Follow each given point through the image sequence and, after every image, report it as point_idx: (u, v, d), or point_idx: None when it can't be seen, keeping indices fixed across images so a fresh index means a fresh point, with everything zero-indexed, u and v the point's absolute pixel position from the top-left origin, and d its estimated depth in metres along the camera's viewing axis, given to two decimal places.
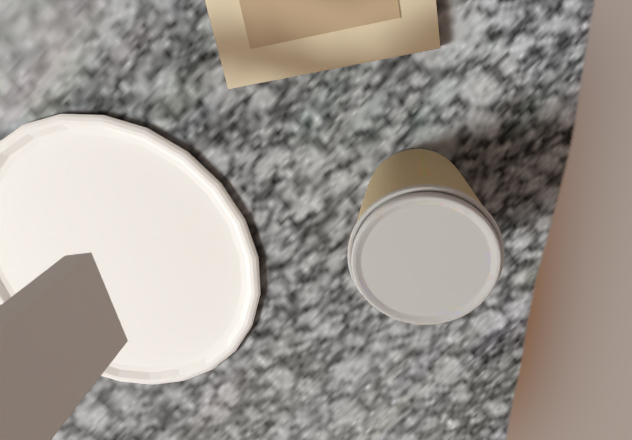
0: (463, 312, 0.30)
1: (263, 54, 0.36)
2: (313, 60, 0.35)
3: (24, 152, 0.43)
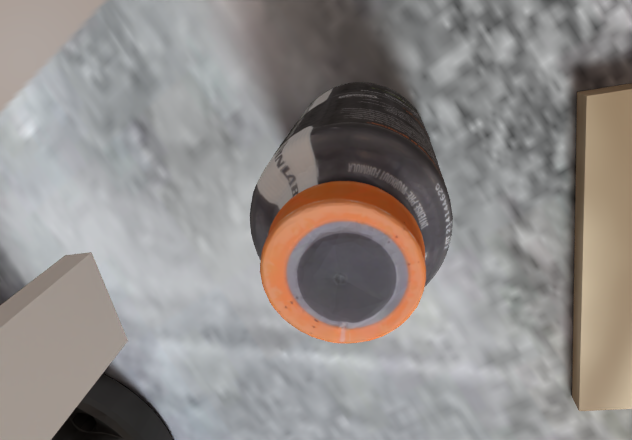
0: None
1: None
2: None
3: None
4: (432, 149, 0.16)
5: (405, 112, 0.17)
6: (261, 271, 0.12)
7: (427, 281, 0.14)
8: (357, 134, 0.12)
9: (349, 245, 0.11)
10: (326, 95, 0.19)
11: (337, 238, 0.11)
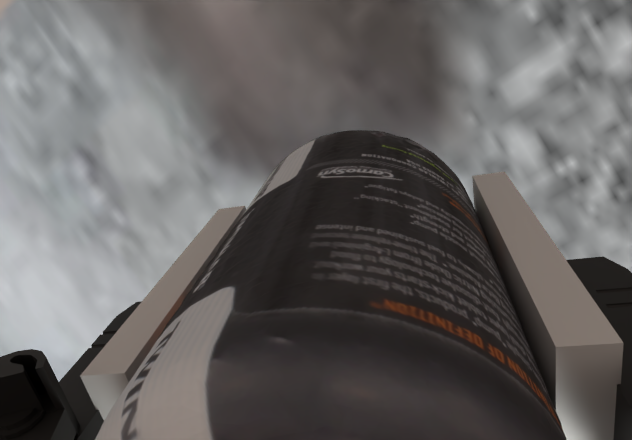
0: None
1: None
2: None
3: None
4: (508, 293, 0.08)
5: (449, 208, 0.08)
6: None
7: None
8: (343, 377, 0.04)
9: None
10: (301, 158, 0.11)
11: None
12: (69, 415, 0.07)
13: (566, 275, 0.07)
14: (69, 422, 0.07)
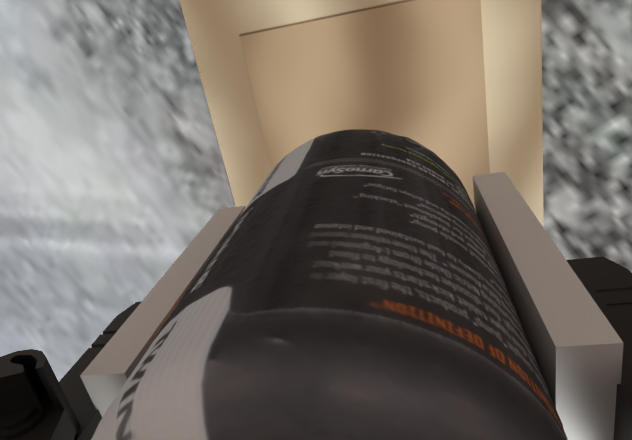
0: None
1: None
2: (523, 128, 0.23)
3: None
4: (508, 292, 0.08)
5: (450, 207, 0.08)
6: None
7: None
8: (341, 378, 0.04)
9: None
10: (300, 157, 0.10)
11: None
12: (69, 415, 0.07)
13: (566, 275, 0.07)
14: (69, 422, 0.07)
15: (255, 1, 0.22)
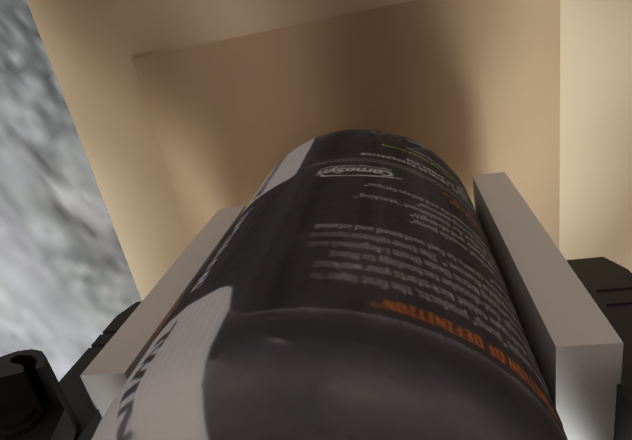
0: None
1: None
2: (622, 217, 0.13)
3: None
4: (508, 292, 0.08)
5: (450, 207, 0.08)
6: None
7: None
8: (341, 378, 0.04)
9: None
10: (300, 157, 0.10)
11: None
12: (69, 415, 0.07)
13: (566, 275, 0.07)
14: (69, 422, 0.07)
15: None
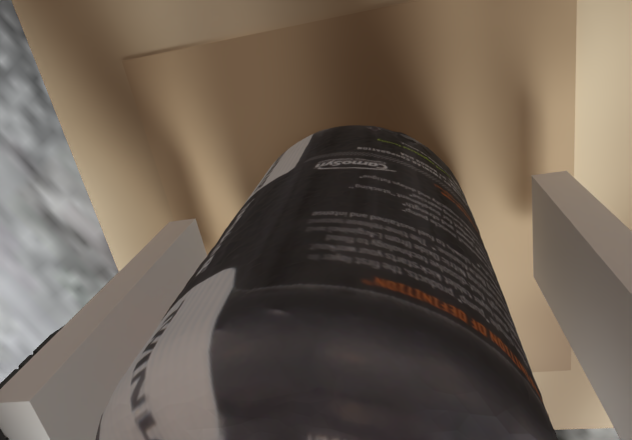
0: None
1: None
2: None
3: None
4: (496, 278, 0.08)
5: (441, 198, 0.09)
6: None
7: None
8: (335, 344, 0.05)
9: None
10: (299, 151, 0.11)
11: None
12: None
13: None
14: None
15: None
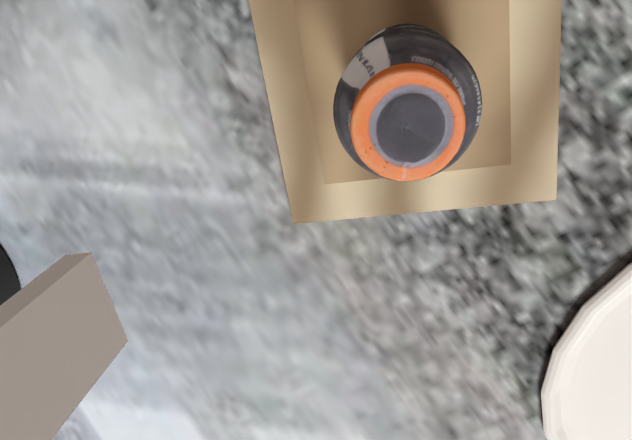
0: None
1: (520, 148, 0.27)
2: (542, 81, 0.26)
3: None
4: None
5: None
6: (351, 124, 0.17)
7: (462, 151, 0.19)
8: (418, 37, 0.18)
9: (415, 102, 0.16)
10: (382, 31, 0.24)
11: (407, 96, 0.16)
12: None
13: None
14: None
15: None
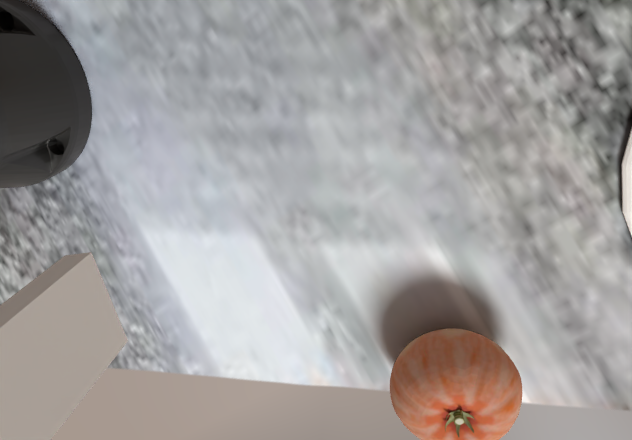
0: None
1: None
2: None
3: None
4: None
5: None
6: None
7: None
8: None
9: None
10: None
11: None
12: None
13: None
14: None
15: None
